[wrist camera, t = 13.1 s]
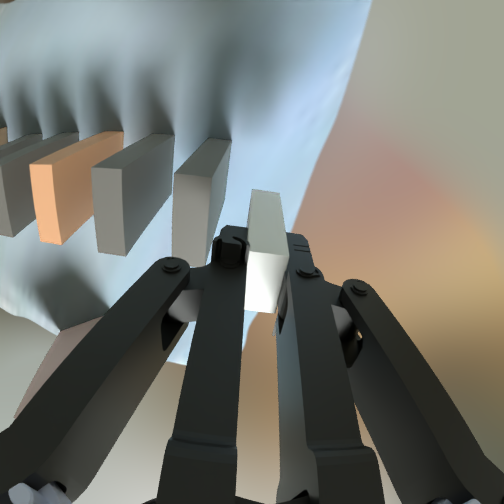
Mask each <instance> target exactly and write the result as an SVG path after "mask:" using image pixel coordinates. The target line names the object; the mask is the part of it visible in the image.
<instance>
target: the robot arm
mask: <svg viewBox="0 0 504 504" xmlns="http://www.w3.org/2000/svg"><path fill="white" fill-rule="evenodd" d="M277 305H278V315H277V319H276V322H275V327H274V330H273V334H272V335H274V336H275V333H276V341H277V369H278V399H279V433H280V434H279V437H280V481H279V486H278V489H277V497H276V504H385V500H384V494H383V487H382V483H381V482H382V481H381V476H380V470H379V464H378V460H377V457H376V454H375V452H374V450H373V449H372V448H370V447H367V446H364V445H363V443H362V440H361V435H360V430H359V425H358V420H357V414H356V409H355V405H356V407H357V409H358V411H359V413H360V415H361V417H362V419H363V421H364V424H365V426H366V428H367V430H368V432H369V434H370V436H371V438H372V441H373V443H374V445H375V447H376V449H377V451H378V453H379V455H380V458H381V460H382V462H383V464H384V466H385V469H386V471H387V472H388V475H389V477H390V480H391V482H392V484H393V486H394V488H395V491H396V493H397V495H398V497H399V499H400V501H401V502H402V504H504V473H503V472H502V471H501V470H500V469H498V468H497V467H496V466H495V465H494V464H493V463H492V462H491V461H490V460H489V459H488V458H487V457H486V456H485V455H484V453H483V451H482V450H481V448H480V446H479V444H478V443H477V441H476V439H475V437H474V436H473V434H472V432H471V431H470V429H469V427H468V426H467V424H466V422H465V421H464V419H463V417H462V416H461V414H460V412H459V411H458V409H457V408H456V406H455V404H454V403H453V401H452V400H451V398H450V396H449V395H448V393H447V392H446V390H445V389H444V388H443V386H442V384H441V383H440V381H439V379H438V378H437V377H436V375H435V374H434V372H433V371H432V369H431V368H430V366H429V365H428V363H427V362H426V360H425V359H424V357H423V356H422V354H421V353H420V352H419V350H418V349H417V347H416V346H415V344H414V343H413V342H412V340H411V339H410V337H409V336H408V335H407V333H406V332H405V330H404V329H403V328H402V326H401V325H400V323H399V322H398V321H397V319H396V318H395V317H394V316H393V314H392V313H391V311H390V310H389V309H388V307H387V306H386V305H385V303H384V302H383V301H382V299H381V298H380V297H379V295H378V294H377V293H376V292H375V290H374V289H373V288H372V287H371V286H370V285H369V284H367V283H365V282H364V281H361V280H358V279H349V280H346V281H345V282H344V283H343V285H342V287H341V286H337V285H334V284H332V283H329V282H327V281H325V280H324V276H323V274H322V272H321V271H320V270H319V269H318V268H317V267H315V266H314V263H313V259H312V255H311V253H310V248H309V244H308V241H307V240H306V238H305V237H304V236H303V235H301V234H294V233H287V232H286V230H285V224H284V218H283V212H282V205H281V199H280V193H276V192H270V191H263V190H256V189H252V193H251V200H250V207H249V214H248V221H247V227H246V228H245V227H238V226H230V225H226V226H225V227H224V228H222V229H221V232H220V235H219V236H217V237H215V238H214V240H213V244H212V256H211V263H209V264H208V265H205V266H202V267H196V268H190V266H189V263H188V262H187V261H186V260H183V259H181V258H178V257H165V258H162V259H159V260H158V261H156V262H155V263H154V264H153V265H152V266H151V267H150V268H149V269H148V270H147V271H146V272H145V273H144V274H143V275H142V276H141V277H140V278H139V279H138V280H137V281H136V282H135V283H134V284H133V285H132V286H131V287H130V288H129V289H128V290H127V291H126V292H125V293H124V295H123V296H122V297H121V298H120V299H119V300H118V301H117V302H116V303H115V304H114V305H113V306H112V307H111V308H110V309H109V310H108V311H107V313H106V314H105V315H104V316H103V317H102V318H101V319H100V320H99V321H98V322H97V323H96V324H95V326H94V327H93V328H92V329H91V330H90V331H89V332H88V333H87V334H86V335H85V337H84V338H83V339H82V340H81V341H80V342H79V343H78V344H77V346H76V347H75V348H74V349H73V350H72V351H71V352H70V354H69V355H68V356H67V357H66V358H65V359H64V360H63V362H62V363H61V364H60V365H59V366H58V367H57V369H56V370H55V371H54V372H53V373H52V374H51V376H50V377H49V378H48V379H47V380H46V382H45V383H44V384H43V385H42V386H41V388H40V389H39V390H38V391H37V393H36V394H35V395H34V396H33V397H32V399H31V400H30V401H29V402H28V404H27V405H26V406H25V408H24V409H23V410H22V411H21V413H20V414H19V415H18V416H17V418H16V419H15V420H14V422H13V423H12V424H11V426H10V427H9V428H7V429H5V430H4V431H2V432H1V433H0V504H72V502H74V501H75V500H76V499H77V498H78V497H79V496H80V495H81V494H82V493H83V492H84V491H85V490H86V489H87V487H88V486H89V484H90V483H91V481H92V480H93V478H94V477H95V475H96V473H97V472H98V470H99V469H100V467H101V465H102V464H103V462H104V460H105V459H106V457H107V456H108V454H109V452H110V450H111V449H112V447H113V446H114V444H115V442H116V441H117V439H118V437H119V436H120V434H121V433H122V431H123V429H124V427H125V426H126V424H127V423H128V421H129V419H130V418H131V416H132V415H133V413H134V411H135V410H136V408H137V406H138V405H139V403H140V401H141V400H142V398H143V397H144V395H145V393H146V392H147V390H148V389H149V387H150V385H151V384H152V382H153V381H154V379H155V377H156V376H157V374H158V373H159V371H160V369H161V368H162V366H163V365H164V363H165V362H166V360H167V358H168V357H169V355H170V354H171V352H172V350H173V349H174V347H175V346H176V344H177V342H178V341H179V339H180V338H181V336H182V335H183V333H184V331H185V330H186V328H187V327H188V324H189V322H192V321H196V325H195V330H194V334H193V339H192V343H191V348H190V352H189V357H188V361H187V366H186V370H185V376H184V380H183V385H182V389H181V395H180V399H179V405H178V409H177V414H176V419H175V424H174V429H173V434H172V437H171V438H170V439H169V440H168V443H167V446H166V450H165V454H164V460H163V465H162V470H161V476H160V481H159V487H158V493H157V498H155V499H152V500H149V501H147V502H145V503H143V504H263V503H259V502H255V501H252V500H248V499H244V498H241V497H238V496H235V492H236V474H237V447H236V435H237V418H238V402H239V386H240V370H241V354H242V338H243V323H244V310H251V311H259V312H269V313H276V309H277ZM358 332H360V333H361V335H362V338H360V337H359V335H358ZM354 403H355V405H354Z"/></svg>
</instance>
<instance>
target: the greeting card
mask: <svg viewBox="0 0 504 504" xmlns="http://www.w3.org/2000/svg"><path fill="white" fill-rule="evenodd" d="M102 317H103V316H101V317H98V318H96V319H93V320H90V321H87V322H85V323H82V324H79V325H76V326H73V327H71V328H68V329H65V330H62V331H60V333H59V334H58V336H57V337H56V339H55V341H54V342H53V344H52V346H51V348H50V349H49V351H48V353H47V354H46V356H45V358H44V360H43V361H42V363H41V365H40V367H39V369H38V370H37V373H36V374H35V376H34V378H33V380H32V381H31V384H30V385H29V387H28V389H27V391H26V393H25V395H24V397H23V399H22V401H21V403H20V405H19V407H18V409H17V411H16V413H15V415H14V418H15V419H16V418H17V416H18V415H19V414H20V413H21V411H22V410H23V409H24V408H25V406H26V405H27V404H28V402H29V401H30V400H31V399H32V397H33V396H34V395H35V394H36V393H37V391H38V390H39V389H40V388H41V386H42V385H43V384H44V383H45V382H46V380H47V379H48V378H49V377H50V376H51V374H52V373H53V372H54V371H55V370H56V369H57V367H58V366H59V365H60V364H61V363H62V362H63V360H64V359H65V358H66V357H67V356H68V355H69V354H70V352H71V351H72V350H73V349H74V348H75V347H76V346H77V344H78V343H79V342H80V341H81V340H82V339H83V338H84V337H85V335H86V334H87V333H88V332H89V331H90V330H91V329H92V328H93V327H94V326H95V324H96V323H97V322H98V321H99V320H100V319H101V318H102Z"/></svg>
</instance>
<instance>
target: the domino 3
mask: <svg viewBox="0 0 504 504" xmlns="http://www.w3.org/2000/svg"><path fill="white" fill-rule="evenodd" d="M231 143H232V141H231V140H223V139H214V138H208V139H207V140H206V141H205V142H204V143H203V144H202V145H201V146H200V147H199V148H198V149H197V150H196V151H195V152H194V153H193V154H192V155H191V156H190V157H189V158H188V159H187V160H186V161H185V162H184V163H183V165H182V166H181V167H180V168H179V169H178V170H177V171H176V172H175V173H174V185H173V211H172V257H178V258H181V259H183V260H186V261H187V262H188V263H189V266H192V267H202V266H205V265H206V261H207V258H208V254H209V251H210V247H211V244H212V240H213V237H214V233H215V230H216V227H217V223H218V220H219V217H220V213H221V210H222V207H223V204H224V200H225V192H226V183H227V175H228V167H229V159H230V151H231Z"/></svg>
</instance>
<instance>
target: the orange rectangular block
mask: <svg viewBox="0 0 504 504" xmlns="http://www.w3.org/2000/svg"><path fill="white" fill-rule="evenodd" d="M123 135H124V132H121V131H104V132H102V133H99V134H96V135H94V136H91V137H89V138H86V139H84V140H81V141H79V142H77V143H74V144H72V145H70V146H67V147H65V148H63V149H61V150H58V151H56V152H54V153H52V154H50V155H48V156H46V157H43V158H41V159H39V160H37V161H35V162H33V163H31V164H29V165H30V176H31V185H32V193H33V200H34V207H35V213H36V219H37V225H38V230H39V235H40V240H41V242H47V243H53V244H59V245H62V244H63V243H64V242H65V241H66V240H67V239H68V238H69V237H70V236H71V235H72V234H73V233H74V232H76V231H77V230H78V229H79V228H80V227H81V226H82V225H83V224H84V223H85V222H86V221H87V220H88V219H89V218H90V217H91V216H92V215H93V214H94V210H93V197H92V180H91V167H93V166H94V165H96V164H98V163H99V162H101V161H103V160H105V159H106V158H108V157H110V156H112V155H113V154H115V153H117V152H119V151H121V150H123Z"/></svg>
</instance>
